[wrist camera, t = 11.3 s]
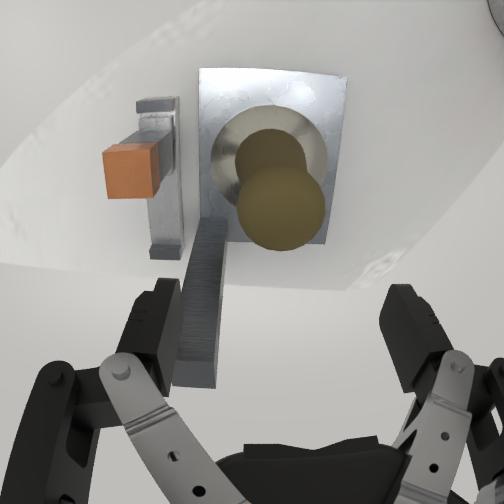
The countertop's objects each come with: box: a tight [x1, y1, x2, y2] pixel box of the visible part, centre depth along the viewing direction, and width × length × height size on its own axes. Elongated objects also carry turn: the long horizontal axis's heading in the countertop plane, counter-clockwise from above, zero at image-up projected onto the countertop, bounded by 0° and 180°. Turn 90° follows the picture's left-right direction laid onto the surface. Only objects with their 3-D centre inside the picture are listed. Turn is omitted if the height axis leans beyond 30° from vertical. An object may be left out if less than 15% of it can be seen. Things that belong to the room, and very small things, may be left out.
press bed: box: [171, 68, 347, 389], centre depth 21 cm, size 16×12×18 cm
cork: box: [235, 128, 325, 251], centre depth 22 cm, size 6×6×11 cm
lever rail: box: [136, 97, 185, 260], centre depth 28 cm, size 15×3×3 cm, turn 178°
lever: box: [102, 116, 174, 199], centre depth 22 cm, size 5×3×8 cm, turn 178°
